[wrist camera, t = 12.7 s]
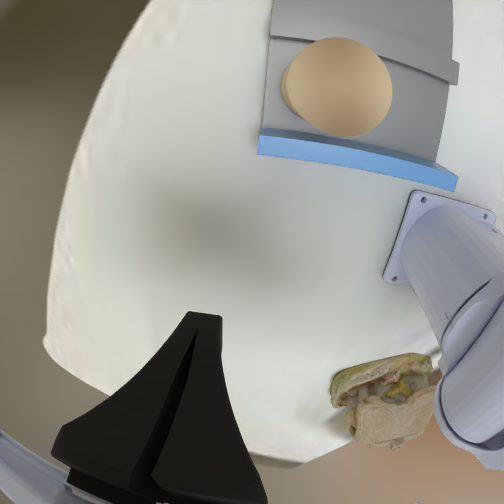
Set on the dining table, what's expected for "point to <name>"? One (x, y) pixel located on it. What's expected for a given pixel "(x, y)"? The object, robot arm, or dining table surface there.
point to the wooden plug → (338, 87)
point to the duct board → (402, 78)
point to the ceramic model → (386, 399)
